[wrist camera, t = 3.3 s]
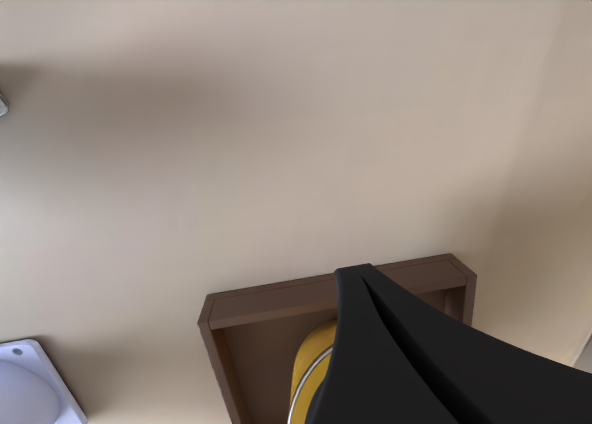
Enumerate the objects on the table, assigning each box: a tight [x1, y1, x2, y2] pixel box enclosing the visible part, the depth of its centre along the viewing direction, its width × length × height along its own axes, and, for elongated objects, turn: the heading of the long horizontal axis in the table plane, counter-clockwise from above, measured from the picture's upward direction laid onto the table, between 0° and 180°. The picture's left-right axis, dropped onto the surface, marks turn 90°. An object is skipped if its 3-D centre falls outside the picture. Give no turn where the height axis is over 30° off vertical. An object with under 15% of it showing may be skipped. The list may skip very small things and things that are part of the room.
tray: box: [197, 254, 477, 424], centre depth 18 cm, size 15×13×2 cm
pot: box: [287, 319, 337, 424], centre depth 13 cm, size 8×10×10 cm
